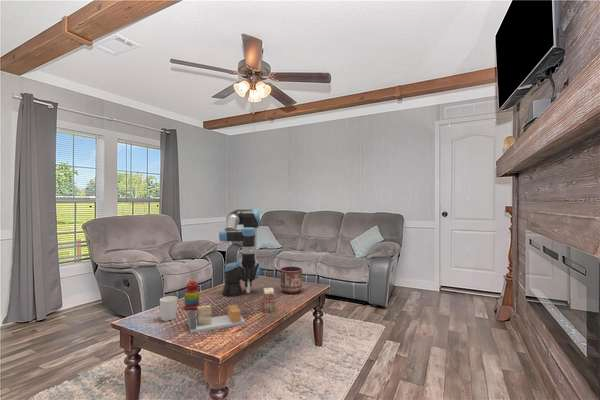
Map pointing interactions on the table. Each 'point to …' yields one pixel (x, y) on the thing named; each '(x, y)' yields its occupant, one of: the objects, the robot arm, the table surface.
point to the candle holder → (168, 308)
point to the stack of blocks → (268, 300)
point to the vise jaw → (234, 313)
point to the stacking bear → (192, 296)
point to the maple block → (204, 315)
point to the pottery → (291, 279)
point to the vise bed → (215, 323)
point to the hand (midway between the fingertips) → (248, 292)
